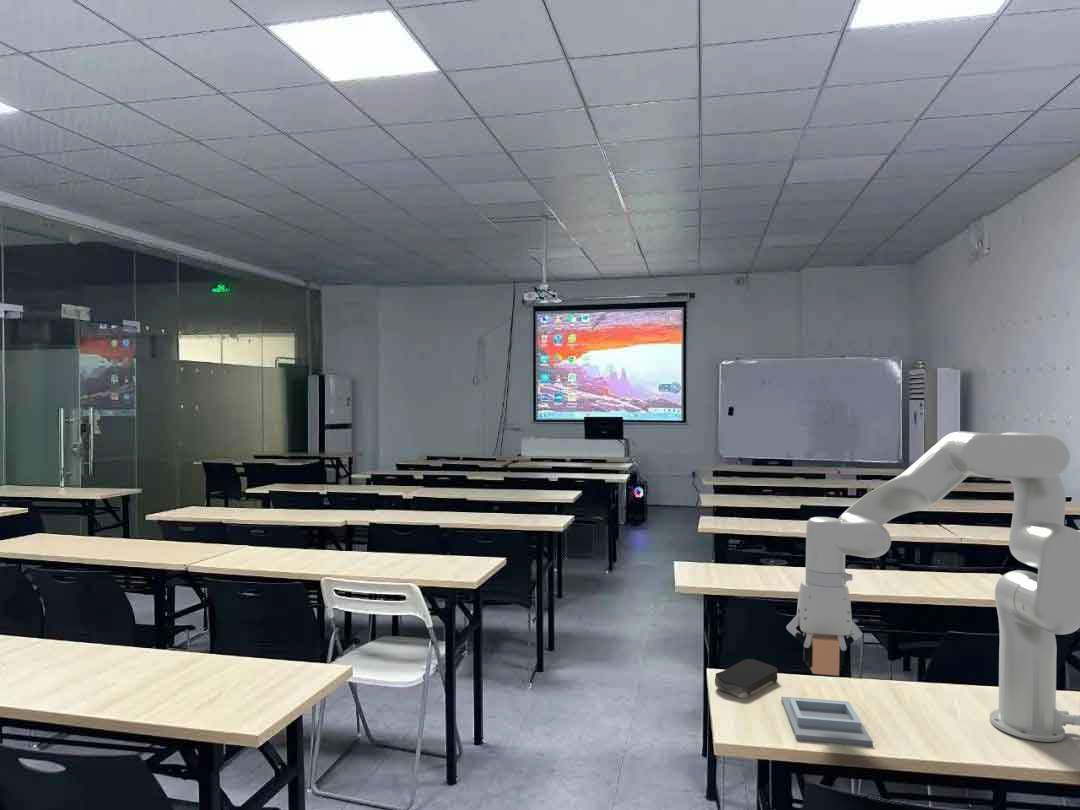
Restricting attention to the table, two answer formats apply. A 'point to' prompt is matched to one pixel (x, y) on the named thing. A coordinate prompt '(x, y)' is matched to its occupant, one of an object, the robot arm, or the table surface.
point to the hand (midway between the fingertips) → (823, 665)
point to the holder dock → (825, 721)
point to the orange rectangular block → (825, 654)
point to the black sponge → (746, 678)
